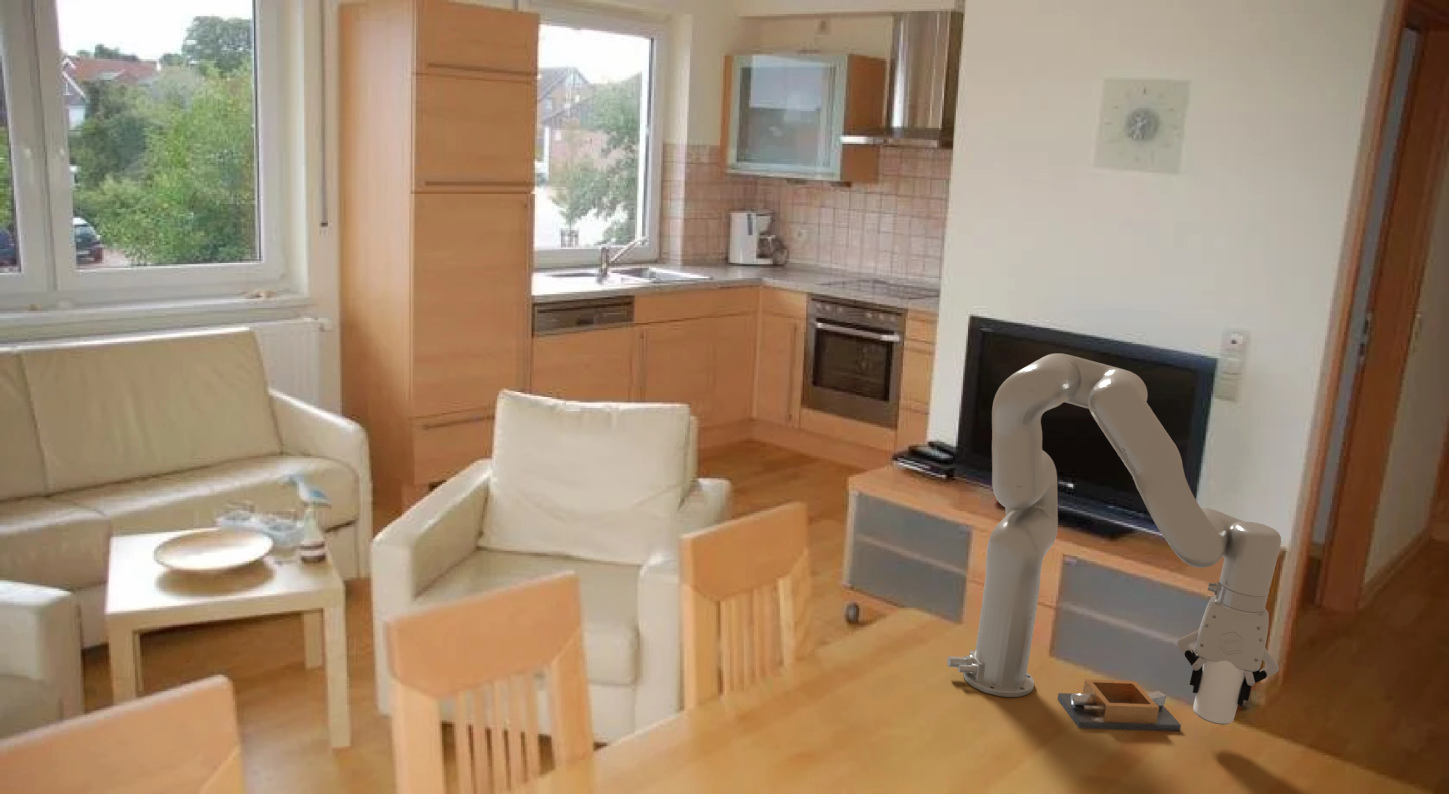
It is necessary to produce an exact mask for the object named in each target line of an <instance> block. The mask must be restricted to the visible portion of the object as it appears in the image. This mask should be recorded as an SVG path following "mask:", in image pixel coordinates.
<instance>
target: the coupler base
mask: <svg viewBox="0 0 1449 794" xmlns="http://www.w3.org/2000/svg"><path fill="white" fill-rule="evenodd" d="M1166 698H1167V694H1164V693H1163V692H1161V691H1160V690H1156V691H1155V690H1154V691H1152V692H1148V693H1147V692H1146V691H1145V690H1144V689H1143V687H1142V686H1141V685H1140V684H1139V683H1138V682H1137V681H1135V680H1114V679H1113V680H1111V679H1090V678H1089V679H1087V678H1086V679H1084V682H1083V689H1082V693H1078V692H1077V693H1075V692H1074V693H1065V692H1058V694H1057V701H1058V702H1059V704H1060V705H1061V706H1062V707H1063V710H1065V711H1066V713H1067V714H1068V715H1069V717H1070V718H1071V720H1072V722H1073V723H1074V724H1075V725H1076V727H1077V728H1078V729H1091V730H1092V729H1096V730H1097V729H1098V730H1128V731H1129V730H1131V731H1158V732H1160V731H1161V732H1163V731H1165V732H1181V726H1182V724H1181V723H1180V722H1179V721H1178V719H1176V718H1175V717H1174V715H1173V714H1172V713H1171V712H1170V711H1169V710H1168V709H1167V708H1166V707H1165V704H1166V700H1167V699H1166Z"/></svg>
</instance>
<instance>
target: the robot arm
mask: <svg viewBox="0 0 1449 794" xmlns="http://www.w3.org/2000/svg"><path fill="white" fill-rule="evenodd" d="M1148 396H1149V395H1148V389H1147V386H1146V384H1145V382H1144V381H1143V380H1142V378H1141V377H1140V376H1139V375H1137V374H1136V373H1134V372H1132V371H1130V370H1126V369H1123V368H1120V367H1117V366H1112V365H1109V364H1105V363H1101V362H1097V361H1094V360H1091V359H1090V360H1089V359H1087V358H1082V357H1079V356H1074V355H1070V354H1066V353H1050V354H1047V355H1045V356H1043V357H1041V358H1039V359H1037V360H1035V361H1034V362H1032V363H1030V364H1028V365H1026V366H1025V367H1023V368H1021V369H1019V370H1017V371H1015V372H1014V373H1012V374H1011V375H1010V376H1009V377H1007V378H1006V379H1005V380H1004V381H1003V382H1002V384H1001V385H1000V386H999V387H998V389H997V391H996V393H995V395H994V398H993V402H992V409H991V430H992V432H991V433H992V434H991V436H992V437H991V438H992V439H991V463H992V464H991V467H992V470H991V471H992V472H991V475H992V476H991V487H992V490H993V494H994V496H995V499H996V501H998V504H1000V505H1001V506H1003V507H1004V508H1005V516H1004V517H1003V518H1002V519H1001V520H1000V521H999V522H998V523H997V525H995V526H994V529H992V531H991V534H990V535H989V539H988V541H987V546H986V547H987V548H986V559H985V560H986V563H985V565H986V568H985V578H984V586H983V592H982V593H983V594H982V601H981V602H982V603H981V609H980V616H979V622H978V624H979V625H978V628H977V630H978V631H977V637H976V643H975V649H974V650H969V654H968V655H964V656H963V657H961V656H953V655H952V656H950V655H949V656H947V658H946V663H947V667H948V668H957V672H958V673H962V675H963V678H964V680H965V682H967V683H968V684H969V685H970V686H971V687H973V688H974V689H976V690H978V691H981V692H983V693H986V694H989V695H993V696H997V697H1004V698H1018V697H1019V698H1020V697H1023V696H1026V695H1028V694H1030V693H1032V691H1033V689H1034V686H1035V680H1034V678H1033V676H1032V675H1031V674H1030V673H1029V672H1028V666H1029V659H1030V654H1031V649H1032V643H1033V642H1032V641H1033V637H1034V636H1033V635H1034V628H1035V622H1036V615H1037V611H1038V601H1039V594H1040V587H1041V577H1042V576H1041V573H1042V567H1043V566H1042V565H1043V561H1044V557H1045V556H1046V554H1047V553H1048V552H1049V550H1050V549H1051V547H1053V544H1054V543H1055V541H1056V538H1057V535H1058V527H1059V526H1058V525H1059V523H1058V522H1059V516H1058V515H1059V512H1058V508H1059V507H1058V505H1059V504H1058V475H1057V468H1056V465H1055V462H1054V460H1053V459H1052V457H1051V456H1050V455H1049V454H1048V453H1047V452H1046V451H1044V449H1043V429H1042V416H1043V414H1044V413H1045V412H1047V411H1050V410H1051V409H1054V408H1057V407H1059V406H1061V405H1062V404H1063V403H1067V404H1069V405H1070V404H1071V405H1074V406H1078V407H1081V408H1084V409H1088V410H1089V412H1090V414H1091V416H1092V418H1093V419H1094V421H1095V422H1096V423H1097V425H1098V427H1099V428H1100V430H1101V431H1102V433H1103V434H1104V436H1105V437H1106V439H1107V440H1108V442H1109V443H1110V445H1111V446H1112V448H1113V449H1114V450H1115V452H1116V453H1117V456H1118V457H1119V458H1120V460H1121V461H1122V462H1123V464H1124V466H1125V468H1127V470H1128V472H1129V473H1130V475H1131V476H1132V480H1133V481H1134V484H1135V487H1136V489H1137V491H1138V492H1139V495H1140V496H1141V498H1142V501H1143V503H1144V505H1145V508H1146V509H1147V511H1148V513H1149V515H1150V517H1151V519H1152V520H1153V522H1154V524H1155V525H1156V527H1157V529H1158V530H1159V532H1160V533H1161V535H1162V537H1163V538H1164V539H1165V541H1166V542H1167V544H1168V545H1169V546H1170V548H1171V550H1172V551H1173V553H1174V554H1175V555H1176V556H1177V557H1178V559H1180V560H1181V561H1182V562H1183V563H1185V564H1186V565H1188V566H1191V567H1194V568H1196V569H1197V568H1199V569H1200V568H1201V569H1202V568H1203V569H1204V568H1209V567H1211V566H1213V565H1215V564H1217V563H1218V562H1220V560H1221V559H1222V558H1223V564H1222V567H1221V572H1220V576H1219V581H1216V583H1215V582H1214V583H1213V582H1208V586H1207V591H1210V592H1212V593H1213V594H1214V595H1213V596H1211V597H1210V599H1209V601H1208V603H1207V605H1206V607H1205V611H1204V613H1203V616H1202V618H1201V622H1200V625H1199V628H1198V629H1196V630H1195V631H1192V632H1190V633H1189V634H1186V635H1184V636H1182V637H1180V638H1178V640H1177V643H1176V644H1177V646H1178V648H1179V649H1180V651H1181V652H1182V653H1183V655H1184V657H1185V658H1186V660H1187V661H1188V663H1189V664H1190V666H1191V669H1192V673H1191V676H1190V680H1189V685H1190V686H1192V687H1193V688H1192V693H1193V694H1196V693H1197V692H1198V687H1199V683H1200V679H1201V675H1202V667H1203V664H1204V663H1205V662H1206V661H1207V660H1208V661H1211V662H1218V661H1228V662H1230V663H1232V664H1233V665H1234V666H1235V667H1236V668H1238V669H1240V670H1244V673H1245V677H1244V681H1243V684H1242V688H1241V692H1240V696H1239V700H1238V705H1237V706H1238V707H1241V708H1242V707H1243V704H1244V702H1249V698H1250V695H1251V690H1252V687H1253V686H1254V685H1255V684H1256V683H1259V682H1260V681H1263V680H1265V679H1266V678H1267V677H1270V676H1272V675H1274V674H1276V673H1277V672H1279V671H1280V666H1279V664H1278V662H1277V661H1276V660H1275V659H1274V657H1273V656H1272V655H1271V654H1270V652H1269V651H1268V649H1267V648H1266V644H1267V639H1268V632H1269V622H1270V620H1269V618H1270V617H1269V615H1270V614H1269V610H1267V609H1266V607H1267V602H1268V598H1269V593H1270V589H1271V585H1272V581H1273V578H1274V577H1273V576H1274V573H1275V570H1276V569H1275V568H1276V565H1277V561H1278V557H1279V552H1280V550H1281V549H1280V548H1281V544H1282V537H1281V534H1280V533H1279V531H1277V530H1276V529H1275V528H1273V527H1271V526H1269V525H1266V524H1263V523H1259V522H1254V521H1245V520H1241V519H1239V518H1236V517H1233V516H1231V515H1229V514H1226V513H1223V512H1222V511H1219V510H1216V509H1212V508H1209V507H1207V508H1206V507H1201V506H1200V505H1199V503H1198V501H1197V500H1196V498H1195V496H1194V494H1193V492H1192V490H1191V488H1190V485H1189V483H1188V481H1187V478H1186V476H1185V475H1186V474H1185V470H1184V466H1183V460H1182V456H1181V453H1180V451H1179V449H1178V447H1177V445H1176V443H1175V442H1174V441H1173V440H1172V438H1171V436H1170V435H1169V432H1167V430H1166V429H1165V428H1164V426H1163V425H1162V423H1161V421H1160V420H1159V418H1158V417H1157V415H1156V414H1155V413H1154V411H1153V409H1152V408H1151V406H1150V405H1149V403H1148V402H1147V401H1148ZM1193 643H1195V645H1194V650H1193V649H1192V648H1191V647H1190V644H1193ZM1194 651H1195V652H1194ZM1262 662H1263V663H1265V665H1266V666H1265V667H1262V668H1261V665H1262Z"/></svg>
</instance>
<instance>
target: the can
mask: <svg viewBox="0 0 1449 794" xmlns="http://www.w3.org/2000/svg"><path fill="white" fill-rule="evenodd" d="M1244 677H1245V673H1244V670H1240V669H1238V668H1236V667H1235V666H1234V665H1233V664H1232V663H1230V662H1228V661H1218V662H1211V661H1208V660H1207V661H1206V662H1205V663H1204V664H1203V666H1202V675H1201V679H1200V683H1199V687H1198V692H1197V693H1195V698H1194V702H1193V705H1192V706H1193V707H1192V709H1193V711H1194V713H1195V714H1196V716H1197V717H1199V718H1201V719H1202V720H1203V721H1205V722H1209V723H1211V724H1215V725H1223V726H1224V725H1229V724H1231V723H1232V722H1233V721H1234V720H1235V716H1236V712H1237V709H1238V706H1239V705H1238V700H1239V696H1240V692H1241V688H1242V684H1243V681H1244Z"/></svg>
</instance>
